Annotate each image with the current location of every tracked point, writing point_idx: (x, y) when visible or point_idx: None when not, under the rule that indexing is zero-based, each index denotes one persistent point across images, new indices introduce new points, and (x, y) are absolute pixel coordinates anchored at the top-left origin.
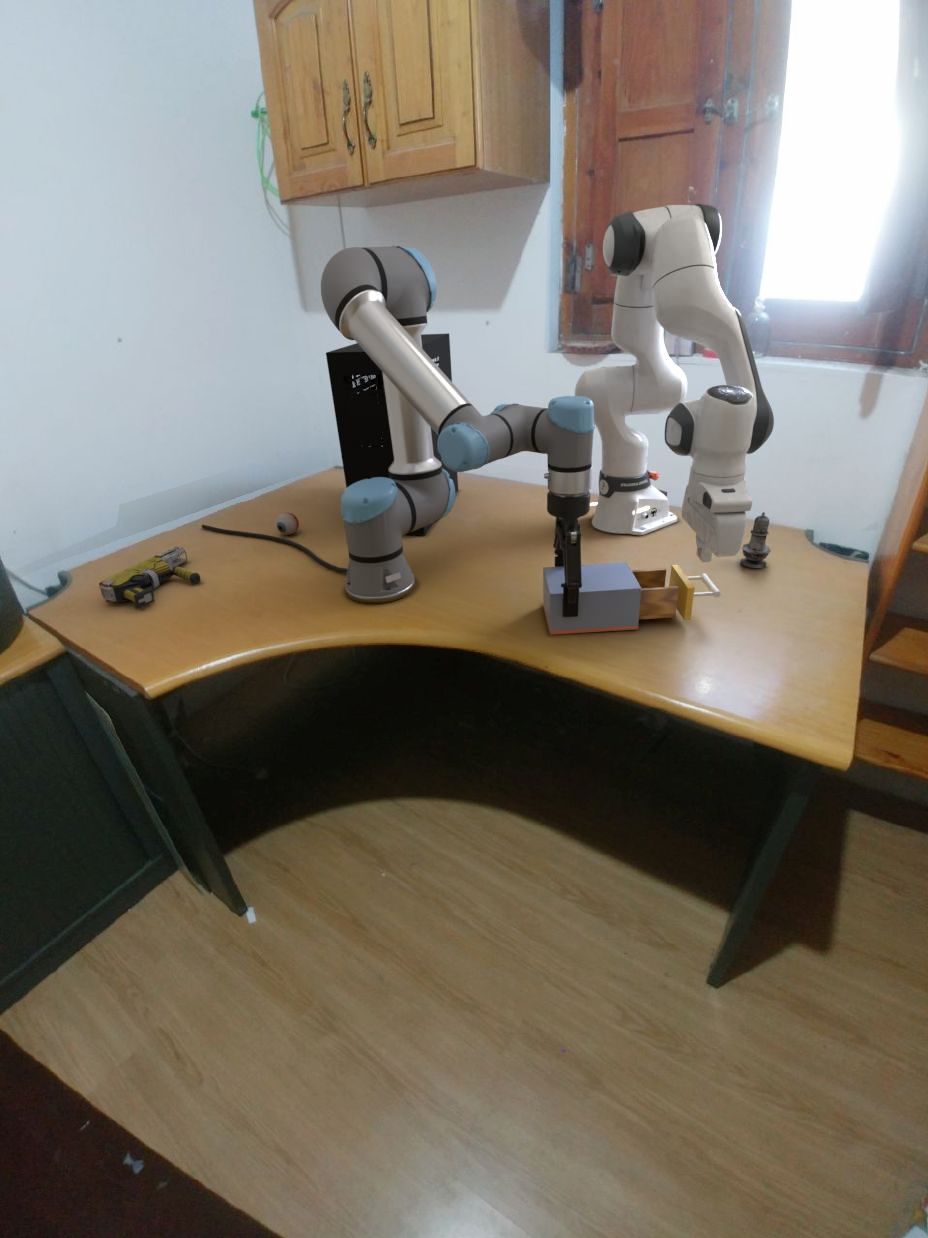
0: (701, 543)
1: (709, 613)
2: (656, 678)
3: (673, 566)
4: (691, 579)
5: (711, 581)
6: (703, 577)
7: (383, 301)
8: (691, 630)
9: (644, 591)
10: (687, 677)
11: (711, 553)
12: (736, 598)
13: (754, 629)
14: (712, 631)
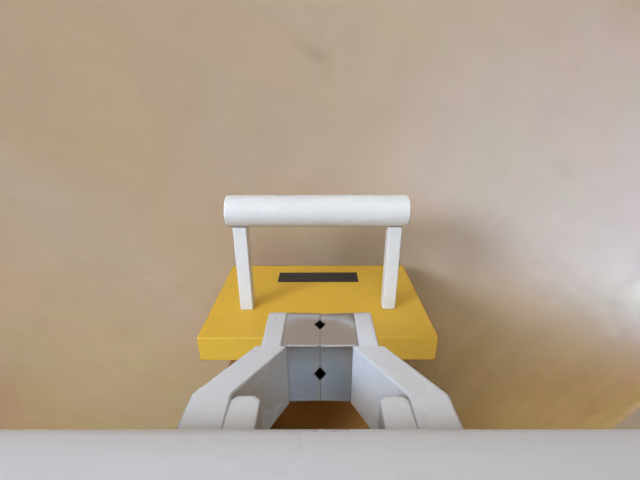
0: (266, 408)
1: (324, 170)
2: (598, 383)
3: (218, 357)
4: (251, 262)
5: (307, 206)
6: (260, 224)
7: None
8: (417, 255)
9: None
10: (620, 325)
11: (377, 347)
12: (216, 24)
13: (450, 54)
14: (434, 199)
